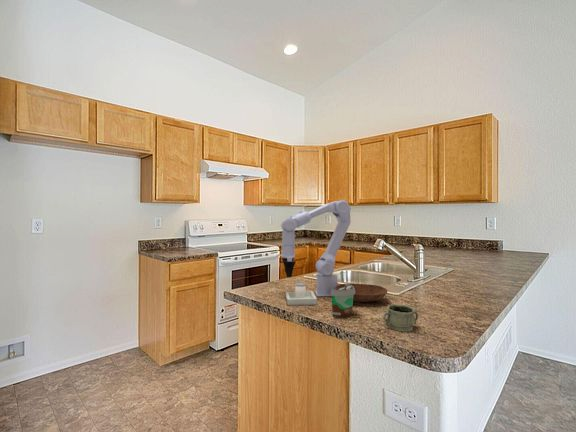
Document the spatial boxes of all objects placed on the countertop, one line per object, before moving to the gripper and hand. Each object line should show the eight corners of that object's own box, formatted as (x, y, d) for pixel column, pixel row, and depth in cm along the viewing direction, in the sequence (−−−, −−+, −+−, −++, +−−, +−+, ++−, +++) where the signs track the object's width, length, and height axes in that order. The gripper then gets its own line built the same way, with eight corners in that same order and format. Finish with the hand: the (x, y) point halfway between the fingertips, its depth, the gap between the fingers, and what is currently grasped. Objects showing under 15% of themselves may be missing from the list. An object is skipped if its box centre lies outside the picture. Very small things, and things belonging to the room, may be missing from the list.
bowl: (390, 308, 119) (390, 296, 119) (333, 305, 123) (333, 293, 123) (384, 295, 138) (384, 284, 138) (336, 292, 142) (336, 282, 142)
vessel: (411, 321, 105) (411, 303, 105) (425, 331, 96) (425, 311, 96) (377, 323, 103) (377, 304, 103) (389, 333, 95) (389, 313, 95)
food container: (346, 321, 105) (346, 292, 105) (330, 317, 109) (330, 289, 109) (360, 311, 115) (360, 285, 115) (346, 308, 119) (346, 283, 119)
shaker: (305, 298, 131) (305, 282, 131) (305, 301, 127) (305, 284, 127) (295, 298, 131) (295, 282, 131) (295, 301, 127) (295, 284, 127)
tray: (312, 296, 135) (312, 291, 135) (316, 305, 123) (316, 298, 123) (285, 297, 135) (285, 291, 135) (287, 305, 123) (287, 299, 123)
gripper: (278, 243, 144) (278, 272, 144) (280, 246, 129) (280, 278, 129) (293, 243, 144) (293, 271, 144) (296, 246, 130) (296, 278, 130)
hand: (288, 275), depth 137 cm, fingers open, 7 cm apart
